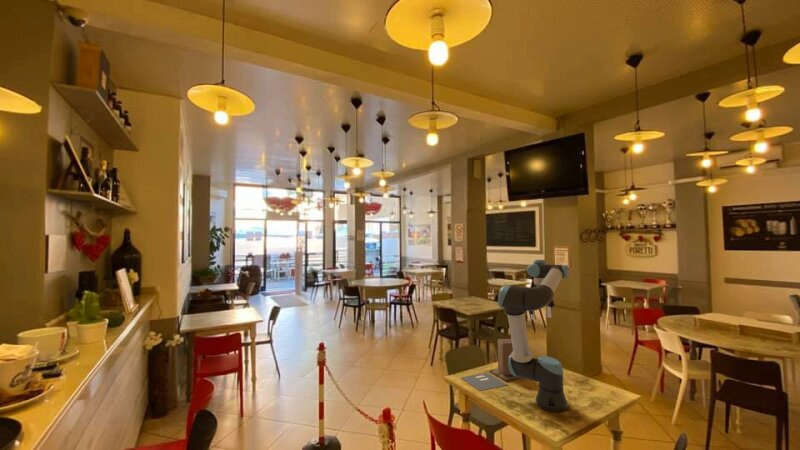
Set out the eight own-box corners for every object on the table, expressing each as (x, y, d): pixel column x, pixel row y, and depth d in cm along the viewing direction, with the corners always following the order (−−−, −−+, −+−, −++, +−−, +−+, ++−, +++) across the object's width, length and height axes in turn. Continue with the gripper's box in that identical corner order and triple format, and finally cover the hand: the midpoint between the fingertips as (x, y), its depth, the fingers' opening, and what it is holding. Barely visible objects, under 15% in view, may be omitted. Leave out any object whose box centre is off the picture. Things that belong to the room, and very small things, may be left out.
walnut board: (526, 377, 209) (526, 375, 210) (505, 381, 203) (505, 379, 204) (509, 368, 224) (509, 366, 224) (489, 372, 218) (489, 369, 218)
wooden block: (518, 375, 209) (518, 343, 210) (503, 376, 209) (502, 343, 209) (512, 369, 219) (511, 338, 220) (497, 369, 219) (496, 338, 219)
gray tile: (507, 385, 199) (507, 384, 199) (479, 391, 192) (479, 390, 192) (486, 372, 218) (486, 372, 218) (460, 377, 210) (460, 377, 210)
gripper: (550, 282, 220) (551, 315, 219) (520, 284, 210) (521, 318, 209) (560, 283, 213) (560, 317, 212) (529, 286, 203) (530, 321, 203)
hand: (541, 318), depth 211 cm, fingers open, 13 cm apart
